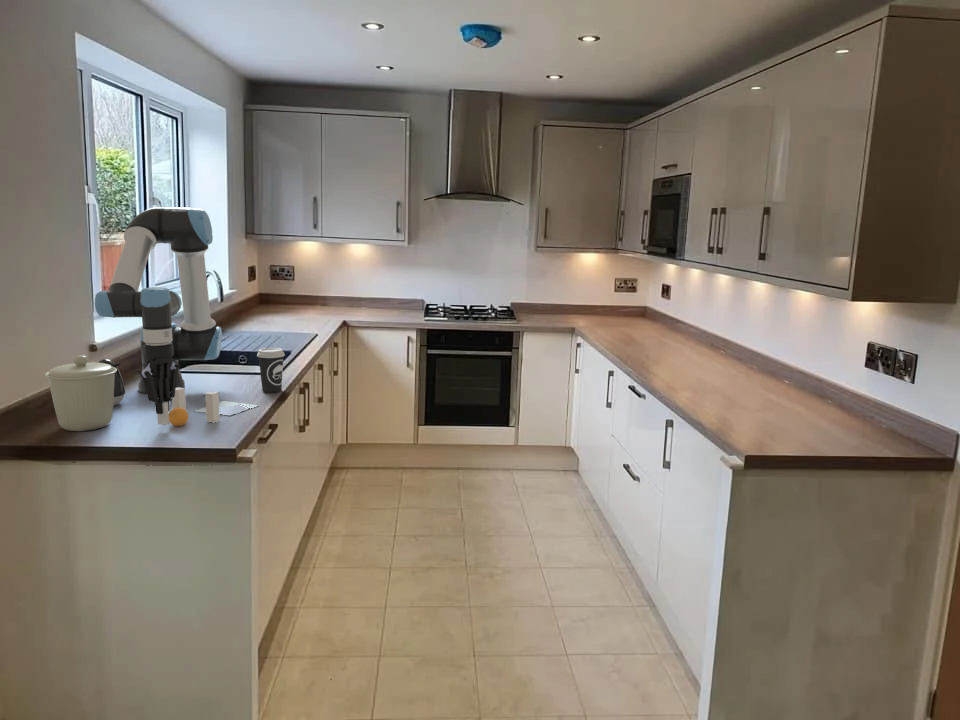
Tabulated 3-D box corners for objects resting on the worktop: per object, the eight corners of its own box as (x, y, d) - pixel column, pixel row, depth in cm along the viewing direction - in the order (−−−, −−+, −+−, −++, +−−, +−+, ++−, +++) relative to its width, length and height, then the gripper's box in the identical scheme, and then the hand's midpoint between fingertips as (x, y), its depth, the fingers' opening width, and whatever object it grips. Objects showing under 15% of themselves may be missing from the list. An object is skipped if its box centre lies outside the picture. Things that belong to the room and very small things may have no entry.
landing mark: (223, 401, 240) (223, 400, 240) (258, 406, 235) (258, 405, 235) (194, 411, 227) (194, 410, 227) (230, 416, 222) (230, 415, 222)
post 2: (212, 420, 217) (211, 391, 216) (219, 421, 217) (218, 392, 215) (206, 422, 215) (205, 393, 213) (213, 423, 214) (212, 394, 212)
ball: (161, 412, 208) (166, 428, 210) (176, 414, 206) (181, 430, 208) (175, 403, 212) (180, 418, 215) (189, 405, 210) (194, 421, 213)
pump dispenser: (111, 410, 226) (108, 362, 223) (83, 407, 228) (79, 360, 225) (133, 402, 236) (130, 357, 233) (105, 400, 238) (102, 355, 235)
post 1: (179, 415, 222) (177, 387, 220) (186, 416, 221) (184, 388, 219) (173, 417, 219) (171, 389, 218) (180, 418, 218) (178, 389, 217)
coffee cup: (285, 387, 262) (283, 346, 259) (286, 393, 253) (285, 351, 250) (257, 388, 259) (256, 347, 256) (258, 394, 250) (256, 352, 247)
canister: (114, 433, 202) (108, 360, 198) (42, 437, 197) (34, 362, 193) (126, 416, 219) (121, 349, 215) (59, 420, 214) (53, 350, 210)
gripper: (151, 347, 194) (156, 431, 198) (185, 340, 206) (190, 419, 210) (129, 345, 196) (135, 428, 201) (165, 338, 208) (170, 416, 213)
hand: (163, 423), depth 205 cm, fingers closed
